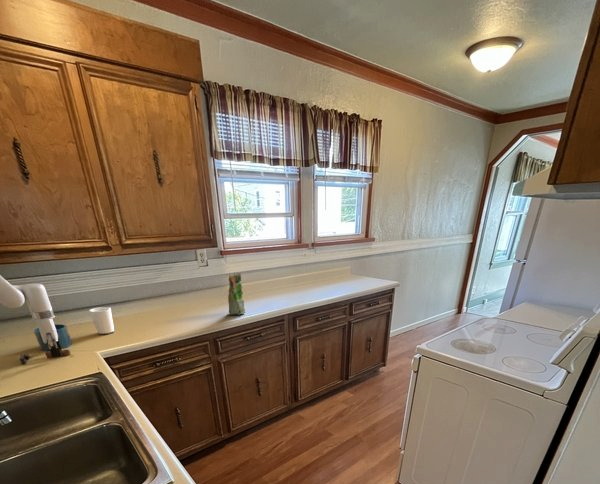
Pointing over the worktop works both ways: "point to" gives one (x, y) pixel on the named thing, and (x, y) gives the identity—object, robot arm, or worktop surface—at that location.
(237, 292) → the pouch
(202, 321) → the worktop surface
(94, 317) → the cup
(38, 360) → the worktop surface
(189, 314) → the worktop surface
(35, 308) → the robot arm
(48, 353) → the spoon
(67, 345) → the crock
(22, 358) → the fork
